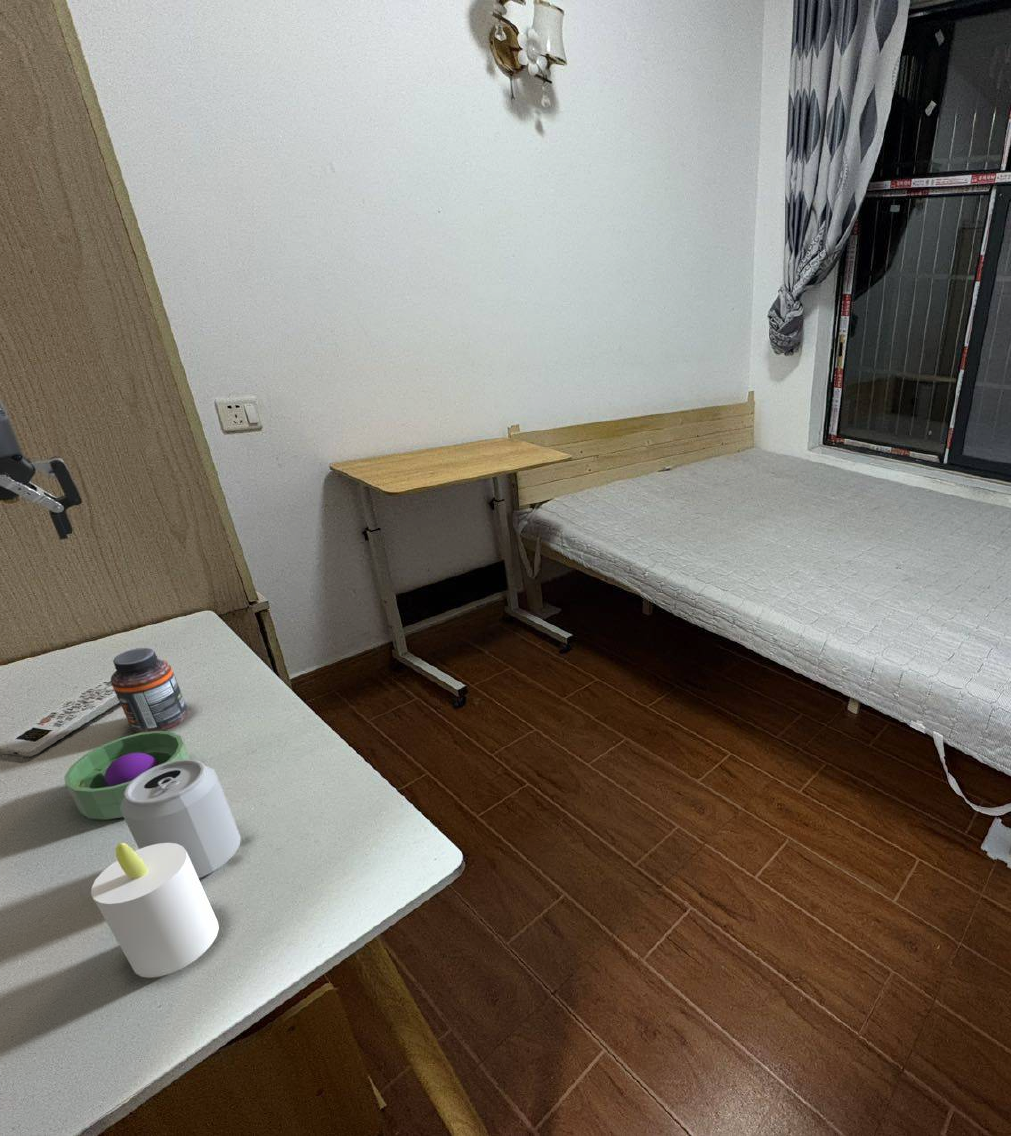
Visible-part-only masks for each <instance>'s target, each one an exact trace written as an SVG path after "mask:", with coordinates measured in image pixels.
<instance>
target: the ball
mask: <svg viewBox="0 0 1011 1136" xmlns="http://www.w3.org/2000/svg"><path fill="white" fill-rule="evenodd" d="M155 766H158V763H157V761H156V760H155V759H154V758H153V757H152V756H150V755H148V754H144V753H131V754H127V755H124V756H122V757H120V758H118V759H116V760H115V761H114V762H112V763H111V764H110V766H109V767H108V768H107V770H106V773H105V781H106V784H107V785H108V786H109V787H111V786H115V785H119V784H122V783H126V782H129V781H132V780H134V779H135V778H136V777H138V776H139V775H140V774H142V773H143V772H145V771H147V770H149V769H151V768H153V767H155Z"/></svg>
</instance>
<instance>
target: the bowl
mask: <svg viewBox="0 0 1011 1136" xmlns="http://www.w3.org/2000/svg"><path fill="white" fill-rule="evenodd" d="M131 753H144V754H148V755H150V756H152V757H153V758H154V759H155V760H156V761H157V763H158V765H161V764H163V763H166V762H171V761H175V760H182V759H191V757H190V755H189V752H188V750H187V748H186V745H185V742H184V740H183V737H182V736H181V735H179V734H177V733H175V732H174V731H168V730H166V731H151V732H142V733H133V734H130V735H126V736H122V737H119V738H117V739H115V740H112V741H109V742H107V743H104V744H102V745H100V746H98V747H96V748H95V749H93V750H91V751H89V752H88V753H86V754H84V755H82V756H81V757H80V758H79V759H78V760H76V761H75V762H74V763H73V764H72V765H71V766H70V767H69V769H68V770H67V771H66V774H65V775H64V783H65V786H66V789H67V791H68V792H69V794H70V797H71V798H72V800H73V801H74V804H75V806H76V807H77V809H78V811H79V813H80V814H82V815H83V816H85V817H86V818H88V819H93V820H101V821H102V820H104V821H108V820H113V819H119V818H124V817H123V815H122V812H121V809H120V806H121V803H122V801H123V799H124V798H125V797H124V792H125V789H126V787H127V786H128V785H129V784H130V783H131V781H129V782H126V783H122V784H119V785H115V786H111V787H109V786H108V785H107V784H106V781H105V773H106V770H107V768H108V767H109V766H110V764H111V763H112V762H114V761H115V760H116V759H118V758H120V757H122V756H124V755H127V754H131Z"/></svg>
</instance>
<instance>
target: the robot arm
mask: <svg viewBox="0 0 1011 1136" xmlns="http://www.w3.org/2000/svg"><path fill="white" fill-rule="evenodd" d="M36 472H41V473H44V475H45V476H46V477H48V478H51V479H52V478H53V479H54V478H55V479H57V482H58V484H59V486H60V488H61V489H62V491H63V495H61V496H59V497H57V496H54V495H52V494H51V493H49V492H47V491H45V490H44V489H43V488H42V487H40V486H39V485H37V484H34V483H33V482H31V480H32V479H33V477H34V475H35V474H36ZM19 496H20V497H22V498H24V499H25V500H28V501H29V502H32V503H34V504H37V505H39V506H41V507H43V508H45V509H47V510H48V512H49V515H50V518H51V520H52V523H53V525H54V528H55V530H56V532H57V536H58V537H59V539H60V540H68V539H69V536H68V535H72V534H73V530H74V528H73V525H72V523H71V520H70V518H69V515H68V513H67V510H68V509H70V508H71V507H75V506H79V505H81V504H82V503H83V500H82V496H81V493H80V492H79V490H78V487H77V485H76V483H75V481H74V479H73V477H72V475H71V472H70V471H69V469H68V467H67V464H66V462H65V460H64V458H62V457H61V456H57V455H55V456H52V457H50V458H49V459H47V460H46V459H45V460H38V461H31V460H30V459H28V458H27V457H26V456H25V454H24V452H23V450H22V447H21V445H20V442H19V440H18V437H17V436H16V433H15V430H14V428H13V426H12V423H11V420H10V419H9V415H8V413H7V409H6V408H5V406H4V404H3V401H2V399H1V398H0V501H13V500H14V499H15V498H18V497H19Z"/></svg>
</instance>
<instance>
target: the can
mask: <svg viewBox="0 0 1011 1136" xmlns="http://www.w3.org/2000/svg"><path fill="white" fill-rule="evenodd" d="M124 797H125V798H124V799H123V801H122V803H121V806H120V809H121V812H122V815H123V817H122V818H123V819H124V822H125V823H126V825H127V828H128V829H129V831H130V833H131V835H132V837H133V839H134V842H135V844H136V845H137V847H138V849H141V848H144V847H146V846H150V845H154V844H159V843H176V844H179V845H181V846H183V847H184V849H185V850H186V851H187V854H188V856H189V858H190V860H191V863H192V865H193V867H194V869H195V872H196V874H197V876H198V878H199V879H202V878H204V877H206V876H207V875H210V874H211V873H213V872H215V871H216V870H217V869H219V868H220V867H222V866H223V865H225V864H226V863H227V862H228V861H229V860H230V859H231V858H232V857H234V855H235V854H236V852H238V851H237V850H238V849H239V848H240V846H241V840H242V837H241V834H240V831H239V829H238V827H237V824H236V821H235V819H234V816H233V813H232V811H231V808H230V806H229V805H230V804H229V803H228V801H227V798H226V794H225V793H224V790H223V787H222V785H221V782H220V780H219V777H218V775H217V773H216V771H215V769H213V768H211V767H210V766H207V765H205V764H204V762H202V761H200V760H198V759H193V758H192V759H191V758H190V759H182V760H175V761H171V762H166V763H163V764H161V765H158V766H155V767H153V768H151V769H149V770H147V771H145V772H143V773H142V774H140V775H139V776H138V777H136V778H135V779H134V780H132V781H131V783H130V784H129V785H128V786H127V787H126V789H125V792H124Z"/></svg>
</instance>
